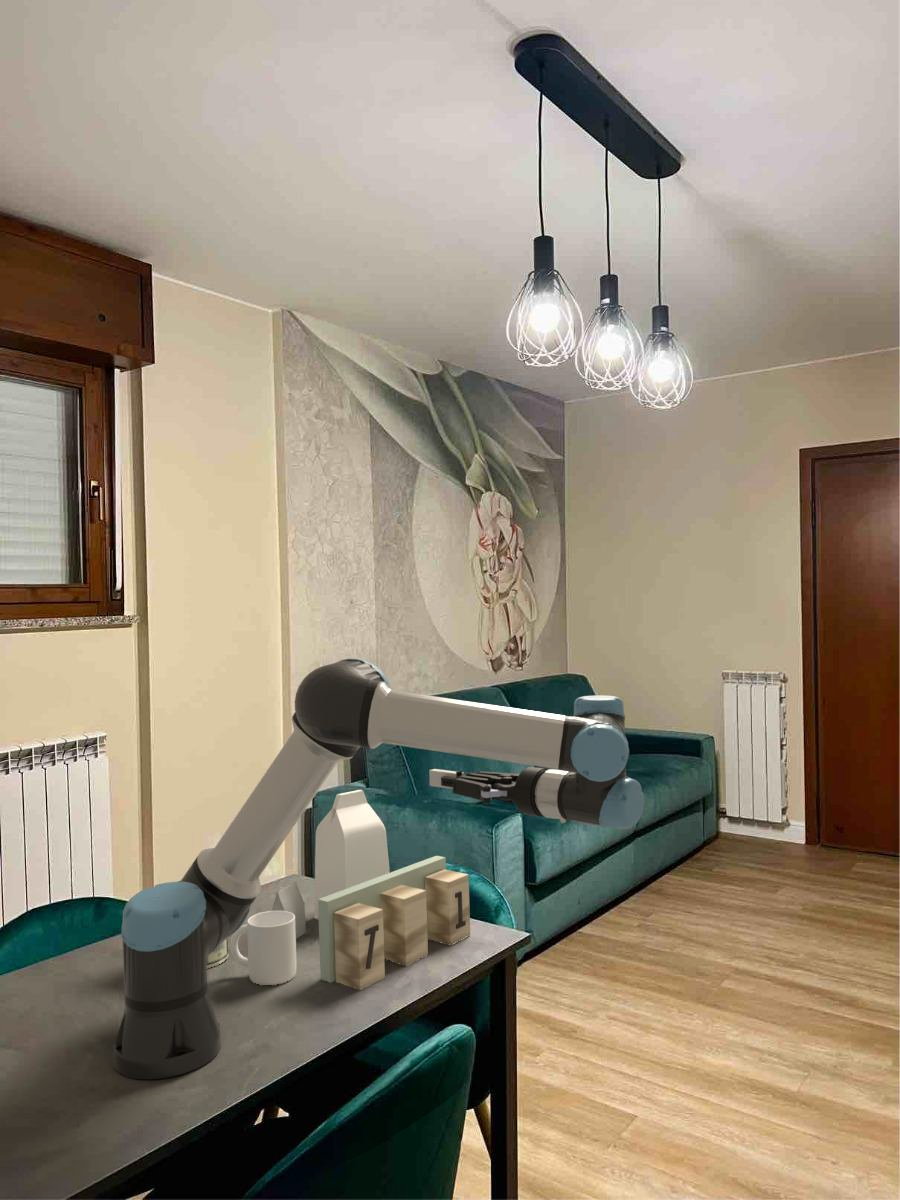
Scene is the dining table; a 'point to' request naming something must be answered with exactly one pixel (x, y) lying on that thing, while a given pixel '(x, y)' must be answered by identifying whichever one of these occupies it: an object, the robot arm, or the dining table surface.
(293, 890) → the white juice carton
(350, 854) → the milk
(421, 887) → the rack board
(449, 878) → the numbered block 1
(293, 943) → the mug
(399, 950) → the plain block
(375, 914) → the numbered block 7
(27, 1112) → the dining table surface
